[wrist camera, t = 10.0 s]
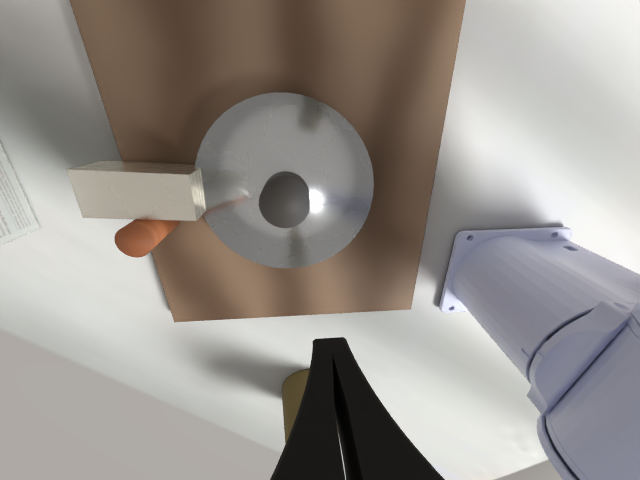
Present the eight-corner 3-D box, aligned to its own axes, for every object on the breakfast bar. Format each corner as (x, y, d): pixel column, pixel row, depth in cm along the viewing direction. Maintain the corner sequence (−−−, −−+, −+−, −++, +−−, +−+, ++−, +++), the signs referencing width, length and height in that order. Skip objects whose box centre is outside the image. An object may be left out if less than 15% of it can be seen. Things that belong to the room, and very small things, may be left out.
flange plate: (382, 100, 16) (397, 97, 13) (359, 262, 20) (367, 283, 18) (79, 79, 14) (31, 71, 12) (131, 258, 19) (105, 281, 16)
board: (460, -22, 14) (533, -83, 10) (406, 301, 24) (431, 345, 19) (73, -30, 13) (-44, -103, 9) (179, 313, 23) (149, 363, 18)
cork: (275, 402, 29) (262, 553, 19) (290, 364, 26) (284, 515, 17) (327, 409, 30) (341, 555, 20) (346, 374, 28) (372, 519, 18)
